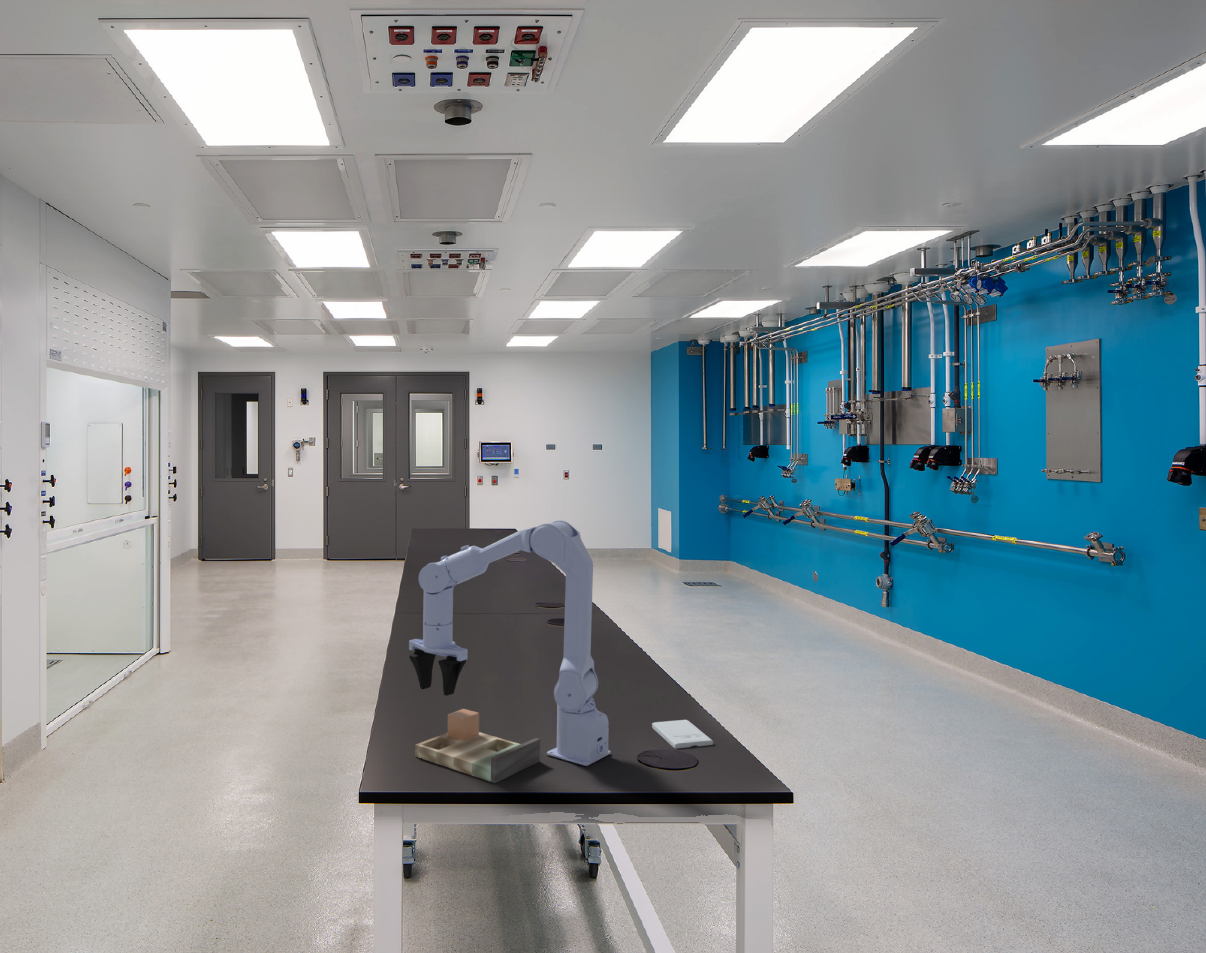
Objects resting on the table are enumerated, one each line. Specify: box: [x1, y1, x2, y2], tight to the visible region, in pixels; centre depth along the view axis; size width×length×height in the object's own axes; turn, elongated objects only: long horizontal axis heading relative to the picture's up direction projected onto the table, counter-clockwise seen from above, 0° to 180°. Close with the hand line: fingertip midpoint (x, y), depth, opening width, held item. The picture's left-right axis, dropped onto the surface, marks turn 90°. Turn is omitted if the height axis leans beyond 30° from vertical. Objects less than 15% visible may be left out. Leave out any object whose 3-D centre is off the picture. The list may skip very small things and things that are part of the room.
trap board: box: [414, 731, 541, 784], centre depth 143 cm, size 20×12×4 cm, turn 55°
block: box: [447, 708, 480, 741], centre depth 149 cm, size 4×4×4 cm
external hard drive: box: [651, 719, 714, 750], centre depth 157 cm, size 2×8×12 cm
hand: (437, 691), depth 153 cm, fingers open, 6 cm apart
